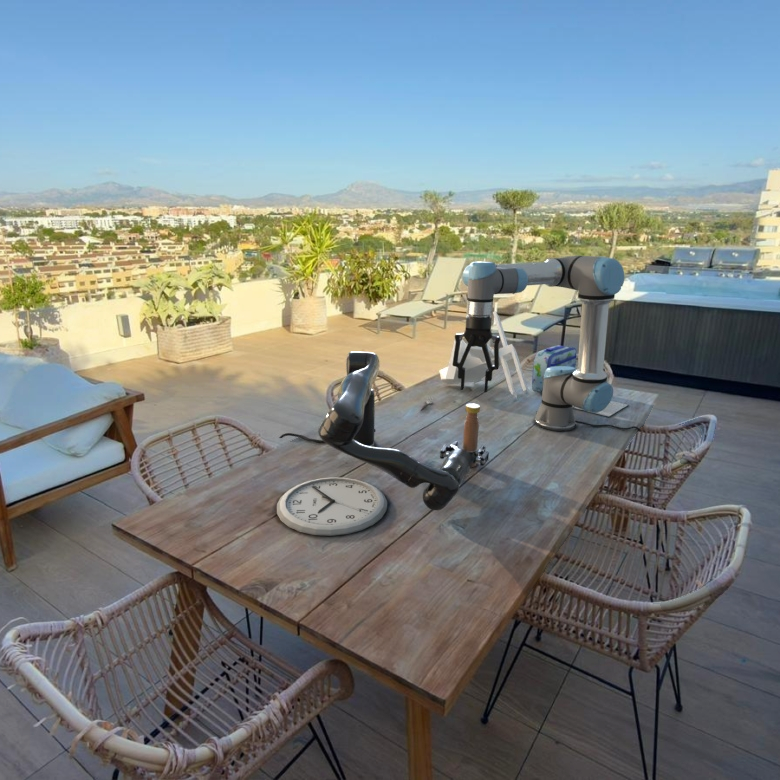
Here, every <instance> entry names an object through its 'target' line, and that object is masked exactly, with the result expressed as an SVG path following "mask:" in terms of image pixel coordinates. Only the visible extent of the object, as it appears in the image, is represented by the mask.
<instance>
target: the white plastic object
mask: <svg viewBox="0 0 780 780" xmlns="http://www.w3.org/2000/svg"><path fill="white" fill-rule="evenodd" d="M492 315H493V319H494V321H495V324H496V325H495V326H496V328H497V332H498V336H500V337H501V339H500V342H501V345H502V347H499V367H500V366H502V370H503V373H504V376H505V380H506V383H507V386H508V390H509V393H510V394H511V395H512V397H513V398H514V399H515V400H517V392H516V391H517V390H516V388H515V385H514V381H513V378H512V375H511V371H510V369H509V365H508V361H510V360H513V363H514V366H515V369H516V372H517V376H518V380H519V382H520V385H521V389H522V391H523V393H524V395H525V396H526V397H528V396H531V395H530V390H529V388H528V387H529V386H528V384H527V381H526V378H525V375H524V371H523V369H522V368H523V367H522V366H521V362H520V359H519V355H518V352H517V349H516V347H515V346H514V345H513V343H511V344H508V341H507V337H506V334H505V331H504V328H503V325H502V321H501V318H500V315H499V314H498V312H497V311H496V310H495V311H492ZM455 344H456V341H455V338H454V340H453V344H452V349H451V353H450V357H449V362H448V366H446V367H444V368H442V369H440V370H439V371H438V372H439V376H440V381H442V383H443V384H444V385H445V386H449V385H458V384H461V379H459V378H458V368H457V367H455V366H453V357H454V351H455ZM467 345H468V343H466V342H465V340H464V339H462V340H461V343H460V350H459V356H458V362H459V363H460V361H461V359H462V357H463V354H464V352H465V349H466V347H467ZM487 348H488V351H489V355H490V359H491V362H492V365H494V349H493V348H492V347H491V346H490V344H489V343H488V342H487ZM463 367H465V381H464V384H467V383H468V384H469V383H473V384H477V383H480V382H482V381H484V378H485V374H486V369H488V367H487V363H486V360H485V356H484V353H483V350H482V347H478V346H474V347H473V346H471V348H470V351H469V353H468V355H467V358H466V360H465V362H464V365H463Z"/></svg>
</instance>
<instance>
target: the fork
mask: <svg viewBox="0 0 780 780" xmlns="http://www.w3.org/2000/svg"><path fill="white" fill-rule="evenodd" d="M434 399H435V396H429V397H428V398H427V399H426V403H425V404H424V405H423V406H422V407H421V409H420V411H423V410H424V409H426V408H427V407H428V405H430V404H433V402H434Z"/></svg>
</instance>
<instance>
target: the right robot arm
mask: <svg viewBox="0 0 780 780" xmlns="http://www.w3.org/2000/svg"><path fill="white" fill-rule="evenodd" d="M462 281H463V284H464V285H465V286H466V287H467V296H466V297H467V298H466V299H467V300H466V314H467V315H466V317H465V330H464V331H463V332H461V333H458V332H457V333H455V335H454V339H455V341H456V344H455V351H454V357H453V366H455V367H457V368H458V378H459V379H461V383H460V391H464V389H465V383H464V381H465V367H463V365H464V362H465V360H466V358H467V355H468V353H469V351H470V348H471V347H474V346H478V347H482V350H483V353H484V356H485V360H486V363H487V367H488V369H486V374H485V377H484V389H483V391H484V392H483V393H488V387H489V382H491V381H492V380H493V372H494V371H497V370H499V369H500V366H499V349H500V346H499V345H500V342H501V337H500V335H495V334H493V333H492V319H493V318H492V315H493V306H494V297H495V296H494V295H506V294H507V295H509V294H511V295H515V294H520V293H522V292H524V291H525V290H526V288H527V286H538V285H539V286H540V285H545V286H547V287H551V288H552V287H558V288H563V289H564V288H565V289H569V290H575V291H577V299H578V300H579V301H580V302H581V315H580V327H579V328H580V329H579V341H578V342H579V343H578V344H579V345H578V356H577V357H578V358H577V367H576V366H575V367H569V366H555V367H549V368H547V369H546V370H545V374H544V379H543V390H542V393H541V402H540V405H539V407H538V410H537V411H536V413H535V416H534V424H535V425H536V426H537V427H539V428H542V429H544V430H549V431H556V432H567V431H572V430H574V429H575V428H576V423H577V424H580V425H581V424H582V425H585V426H589V427H596V428H598V427H599V428H600V427H608V428H613V429H618V430H623V431H628V430H633V429H636V430H638V431H641V429H640V428H639V427H638V426H635V425H634V426H628V427H620V426H617V425H614V424H603V423H601V424H593V423H588V422H584V421H579V420H576V418H575V417H576V416H575V413H574V407H578V408H580V409H583V410H582V411H584V412H588V411H589V412H588V413H592V412H593V414H596V413H597V412H600V411H602V410H603V409H605V408H606V407H607V405H608V404H609V403H610V401H612V399H613V396H614V387H613V385H612V384H611V383H609V382H608V373H607V372H606V371H605V370H604V365H605V354H606V345H607V344H606V342H607V332H608V331H607V330H608V322H609V321H608V318H609V309H610V308H609V307H610V303H611V302H612V301H613V300H614V299H615V297H616V294H618V293H619V292H620V291H621V290H622V287H624V283H625V270H624V267H623V265H622V264H621V263H620V261H619V260H618V259H615V258H613V257H607V256H593V255H592V256H590V255H570V256H561V257H556V258H548V259H546V260H545V261H537V262H535V261H534V262H518V263H516V262H514V263H498V264H497V263H495V262H493V261H472V262H470V264H468V265H467V266H466V267H464V270H463V272H462ZM463 338H464V339H465V341H466V342H467V347H466V349H465V352H464V354H463V357H462V359H461V361H460V363H459V362H458V356H459V350H460V343H461V340H462V339H463ZM464 339H463V340H464ZM491 340H492V343H493V350H494V365H492V362H491V359H490V355H489V351H488V348H487V343H488V342H489V341H491ZM580 409H579V410H580Z"/></svg>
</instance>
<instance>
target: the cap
mask: <svg viewBox="0 0 780 780" xmlns="http://www.w3.org/2000/svg"><path fill="white" fill-rule="evenodd" d="M480 411H481V406H480V404H479V403H474V402H473V403H472V402H471V403H467V404H465V412H466V413H467V414H468V413H477V414H478V413H480Z"/></svg>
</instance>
